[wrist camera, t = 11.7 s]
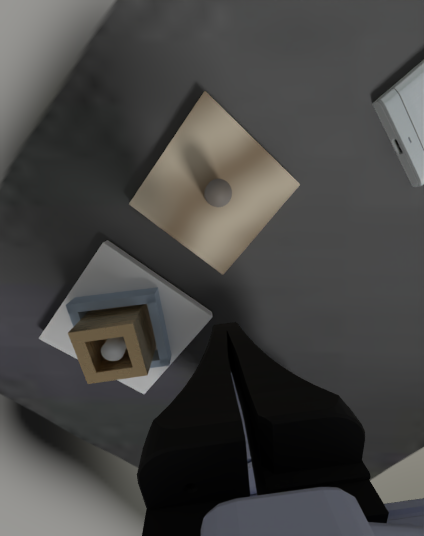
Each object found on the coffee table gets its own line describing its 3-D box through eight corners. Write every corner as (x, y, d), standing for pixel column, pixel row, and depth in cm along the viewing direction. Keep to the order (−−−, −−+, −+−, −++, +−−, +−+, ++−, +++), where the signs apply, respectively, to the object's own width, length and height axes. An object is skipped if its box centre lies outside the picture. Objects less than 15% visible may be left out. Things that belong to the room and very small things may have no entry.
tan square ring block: (145, 300, 20) (133, 323, 16) (156, 344, 22) (147, 375, 18) (92, 307, 20) (67, 332, 16) (107, 351, 22) (87, 383, 18)
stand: (295, 185, 19) (323, 181, 14) (221, 271, 21) (227, 290, 17) (204, 96, 16) (206, 61, 12) (132, 203, 19) (111, 205, 14)
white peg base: (212, 311, 22) (215, 339, 18) (146, 386, 25) (134, 426, 20) (107, 240, 19) (81, 251, 15) (45, 332, 22) (7, 365, 18)
